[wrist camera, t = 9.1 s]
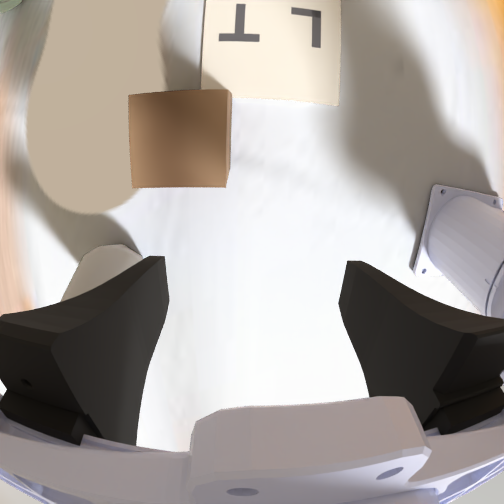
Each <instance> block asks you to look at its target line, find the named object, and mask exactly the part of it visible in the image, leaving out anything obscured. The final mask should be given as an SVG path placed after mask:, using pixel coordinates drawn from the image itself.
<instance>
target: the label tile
mask: <svg viewBox="0 0 504 504" xmlns="http://www.w3.org/2000/svg"><path fill="white" fill-rule="evenodd" d="M340 65H341V0H206V9H205V22H204V36H203V53H202V73H201V90H205V89H228V90H229V91H230V92H231V93H232V98H256V99H274V100H288V101H299V102H309V103H318V104H326V105H333V106H339V91H340Z"/></svg>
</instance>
